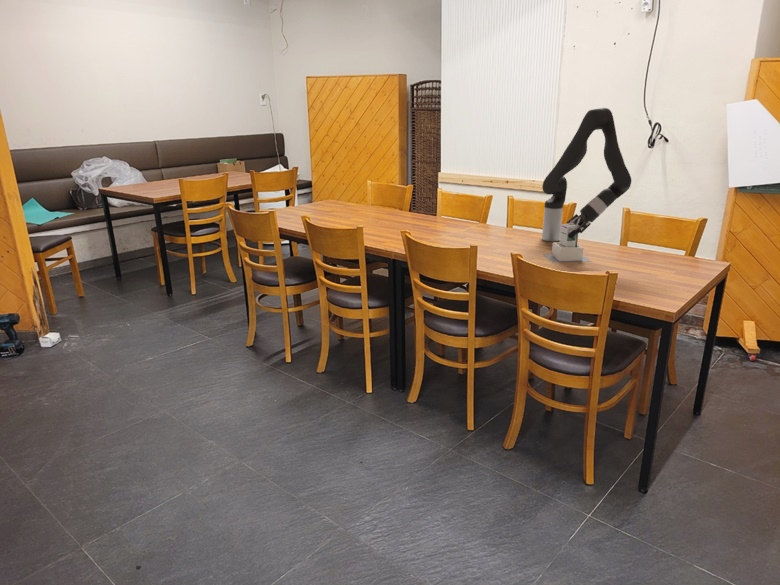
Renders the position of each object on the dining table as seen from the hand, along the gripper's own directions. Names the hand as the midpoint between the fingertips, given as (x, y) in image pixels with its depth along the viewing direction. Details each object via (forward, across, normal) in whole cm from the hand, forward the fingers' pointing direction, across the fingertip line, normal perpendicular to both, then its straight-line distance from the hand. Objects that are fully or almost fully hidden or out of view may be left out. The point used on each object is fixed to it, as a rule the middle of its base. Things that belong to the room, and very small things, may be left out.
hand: (565, 235), depth 248 cm
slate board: (+8, 0, +10) cm, 12 cm away
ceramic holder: (+7, 0, +8) cm, 11 cm away
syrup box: (+6, 0, +8) cm, 10 cm away
